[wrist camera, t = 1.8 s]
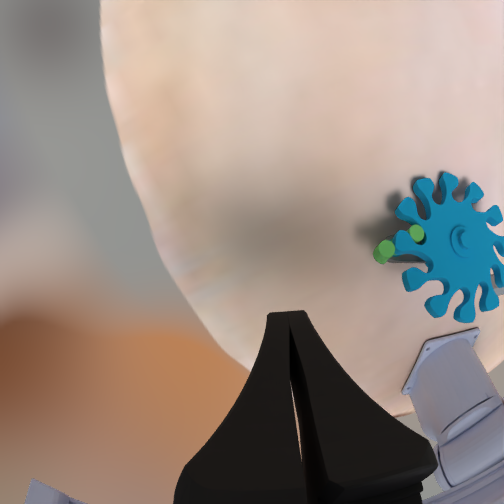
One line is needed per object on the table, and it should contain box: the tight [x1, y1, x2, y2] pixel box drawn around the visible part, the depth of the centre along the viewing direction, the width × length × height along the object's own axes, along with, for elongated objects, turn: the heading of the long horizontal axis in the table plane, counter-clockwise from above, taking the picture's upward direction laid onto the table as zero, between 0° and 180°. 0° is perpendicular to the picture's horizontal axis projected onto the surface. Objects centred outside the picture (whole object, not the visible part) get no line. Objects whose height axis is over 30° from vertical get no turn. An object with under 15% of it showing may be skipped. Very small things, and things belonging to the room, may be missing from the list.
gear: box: [373, 172, 504, 323], centre depth 17 cm, size 11×6×10 cm
